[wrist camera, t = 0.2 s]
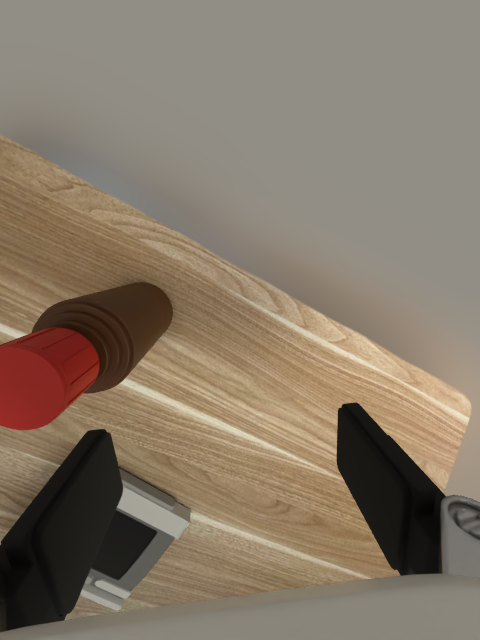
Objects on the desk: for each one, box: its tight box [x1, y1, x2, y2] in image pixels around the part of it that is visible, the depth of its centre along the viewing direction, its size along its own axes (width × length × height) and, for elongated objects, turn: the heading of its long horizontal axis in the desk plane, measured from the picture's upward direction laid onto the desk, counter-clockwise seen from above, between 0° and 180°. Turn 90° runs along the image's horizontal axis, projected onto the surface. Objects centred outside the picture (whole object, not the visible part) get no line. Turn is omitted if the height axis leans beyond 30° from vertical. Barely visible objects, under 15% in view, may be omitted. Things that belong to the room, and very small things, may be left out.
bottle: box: [32, 283, 173, 393], centre depth 19 cm, size 6×6×17 cm
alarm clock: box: [80, 468, 190, 611], centre depth 32 cm, size 17×5×16 cm
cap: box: [0, 327, 99, 430], centre depth 12 cm, size 4×4×3 cm
